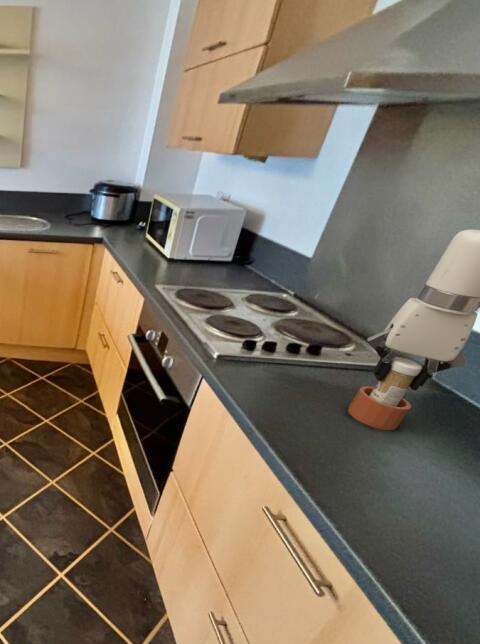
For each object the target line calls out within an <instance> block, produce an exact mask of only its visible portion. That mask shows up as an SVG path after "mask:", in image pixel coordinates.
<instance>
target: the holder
mask: <svg viewBox="0 0 480 644" xmlns="http://www.w3.org/2000/svg"><path fill="white" fill-rule="evenodd" d="M374 388H375V386H369V385H367V386H361V387H360V388H359V389H358V391H357V393H356V394H355V395H354V397H353V399H352V401H351V402H350V404H349V406H348V408H347V412H348V414H349V415H350V416H351V417H353V418H354V419H355V420H357V421H358V422H360V423H362V424H364V425H366V426H369V427H372V428H374V429H378V430H381V431H388V432H389V431H395V430H397V428H398V427H399V425H400V424H401V423H402V421H403V419H404V418H405V417H406V415H407V414H408V413H409V411H410V410H411V408H412V405H411V403H410V402H409V401H408V400H407V399H405V398H403V397H402V399H401V400H400V402H399V403H398V405H397V406H396V407H395V406H390V405H387V404H384V403H381V402H379V401H376V400H374V399H373V398H371V397H369V396H370V394H371V393H372V391H373V390H374Z"/></svg>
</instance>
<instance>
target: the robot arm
mask: <svg viewBox="0 0 480 644" xmlns="http://www.w3.org/2000/svg"><path fill="white" fill-rule="evenodd" d="M479 309H480V229H464V230H461V231H459V232H457V233H456V234H455V235H454V236H453V238H452V239H451V240H450V243H449V244H448V246H447V247H446V249H445V251H444V252H443V254H442V255H441V257H440V260H439V261H438V262H437V264H436V266H435V268H434V269H433V271H432V272H431V274H430V276H429V277H428V278H427V281H426V282H425V284H424V286H423V287H422V289H421V291H419V293H418V295H417V297H416V298H415V297H410V298H409V299H407V301H405V303H404V304H403V305H402V306H401V307H400V309H399V310H398V311H397V312H396V313H395V315H394V316H393V317H392V319H391V320H390V321H389V323H388V324H387V326H386V327H385V329H384V330H383V331H381V332H379V333H376V334H374V335H372V336H370V337H368V338H366V342H367V344H369V346H370V347H371V348H372V349H373V350H374V351H375V352H376V353H377V355H378V357H379V360H378V362H377V363H376V365H375V367H374V368H373V371H372V373H373V375H374V377H375V379H376V381H378V382H379V381H383V379H384V377H385V376H386V374H387V373H388V371H389V369H390V368H391V366H392V365H391V361H392V360H393V359H394V358H395V357H398V355H399V354H401V353H404V354H408V355H412V356H416V357H421V358H424V359H423V364H422V365H421V366H422V370H421V371H420V373H419V374H418V375H417V376H416V377H415V378H414V380H413V381H412V383H411V384H410V386H409V388H410V389H411V390H412V391H417V390H419V388H420V387H423V386H424V385H425V383H426V382H427V380H428V379H429V377H430V376H432V375H435V374H436V373H439V372H442V371H446V370H449V369H451V368H454V369H455V368H459V367H465V366H466V365H468V362H467V359H466V358H465V354H464V352H463V348H464V346H465V344H466V343H467V341H468V339H469V337H470V335H471V333H472V331H473V328H474V326H475V324H476V321H477V318H478V313H477V311H478V310H479ZM381 342H384V343H385V348H384V347H383V345H381Z"/></svg>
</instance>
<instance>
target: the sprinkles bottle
mask: <svg viewBox="0 0 480 644" xmlns="http://www.w3.org/2000/svg"><path fill="white" fill-rule="evenodd" d="M391 365H392V366H391V368H390V369H389V371H388V373H387V374H386V376H385V377H384V379H383V381H378V382H377V383H376V385H375V386H374V387H375V388H374V390H373V391H372V393H371V394H370V396H369V397H371V398H373V399H374V400H376V401H379V402H381V403H384V404H387V405H390V406H395V407H396V406H397V405H398V403H399V402H400V400H401V399H402V398H403V397H404V396H405V394H407V393H406V392H407V391H408V390H409V388H410V384H411V383H412V381H413V380H414V378H415V377H416V376H417V375H418V374H419V373H420V371H421V370H422V366H423V365H421V364H420V363H418V362H417V361H415V360H412V359H408V358H405V357H401V356H396V357H395V358H394V359H393V360H392V361H391Z"/></svg>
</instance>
